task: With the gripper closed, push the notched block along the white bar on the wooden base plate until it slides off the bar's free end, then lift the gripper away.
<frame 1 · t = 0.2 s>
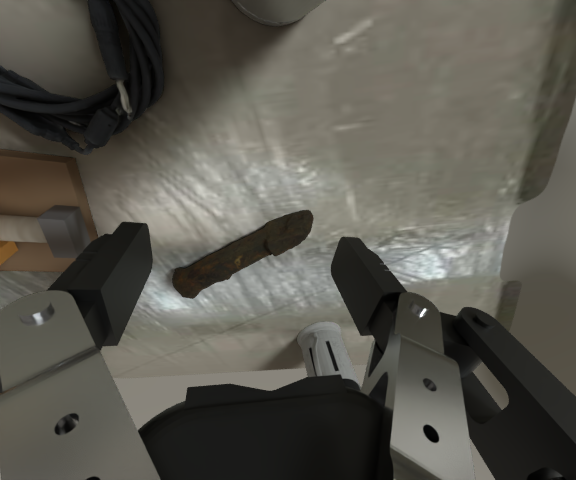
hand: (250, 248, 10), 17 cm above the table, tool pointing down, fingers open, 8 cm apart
cable: (35, 7, 17), on the table
glass holder: (314, 327, 45), on the table
dark brown tapered rod: (241, 239, 31), on the table
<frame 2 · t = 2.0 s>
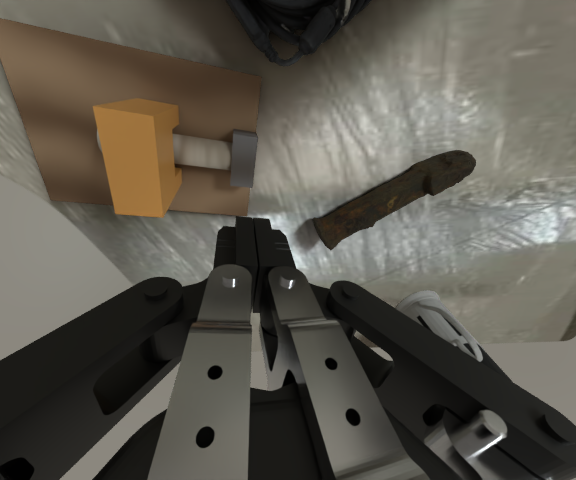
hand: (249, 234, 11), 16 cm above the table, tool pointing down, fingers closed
notched block: (149, 154, 18), point 5 cm above the table, slide at 0.0 cm
glass holder: (414, 298, 43), on the table
wooden base plate: (155, 138, 22), on the table
dark brown tapered rod: (379, 186, 30), on the table
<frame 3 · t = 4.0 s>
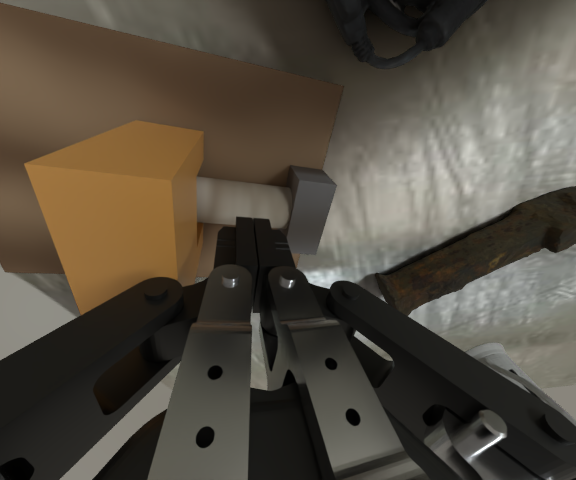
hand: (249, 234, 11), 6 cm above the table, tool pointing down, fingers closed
notched block: (156, 221, 10), point 5 cm above the table, slide at 0.2 cm, touching gripper
glass holder: (474, 350, 35), on the table
wooden base plate: (166, 178, 15), on the table
dark brown tapered rod: (466, 231, 22), on the table
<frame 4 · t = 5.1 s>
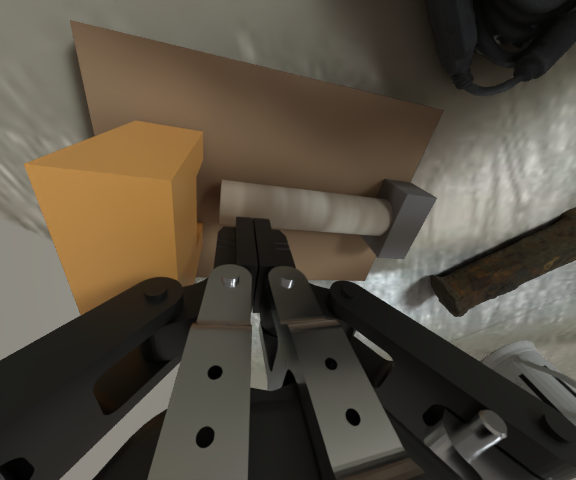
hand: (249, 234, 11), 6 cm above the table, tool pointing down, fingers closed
notched block: (156, 222, 10), point 5 cm above the table, slide at 6.5 cm, touching gripper
glass holder: (506, 348, 37), on the table
wooden base plate: (269, 190, 16), on the table
dark brown tapered rod: (515, 236, 24), on the table
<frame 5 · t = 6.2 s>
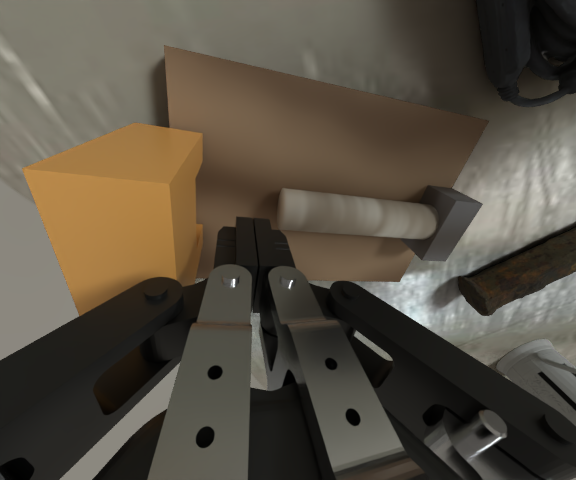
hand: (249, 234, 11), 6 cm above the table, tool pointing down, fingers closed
notched block: (156, 224, 10), point 5 cm above the table, slide at 9.9 cm, touching gripper
glass holder: (524, 346, 38), on the table
wooden base plate: (316, 196, 17), on the table
dark brown tapered rod: (541, 237, 24), on the table
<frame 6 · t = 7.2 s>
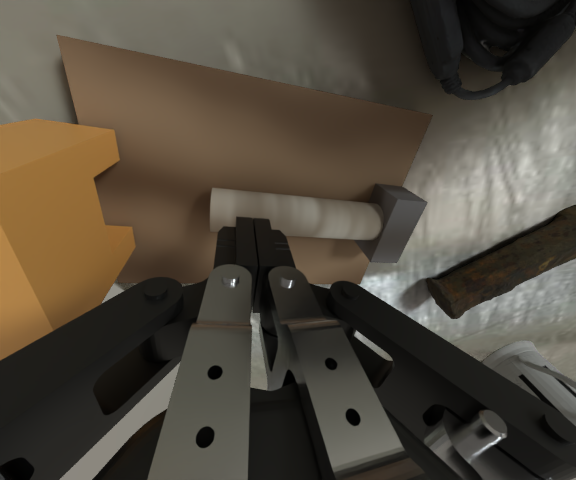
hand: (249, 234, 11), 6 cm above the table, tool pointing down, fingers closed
notched block: (50, 227, 10), point 5 cm above the table, slide at 9.9 cm
glass holder: (506, 348, 37), on the table
wooden base plate: (261, 195, 16), on the table
dark brown tapered rod: (511, 236, 24), on the table
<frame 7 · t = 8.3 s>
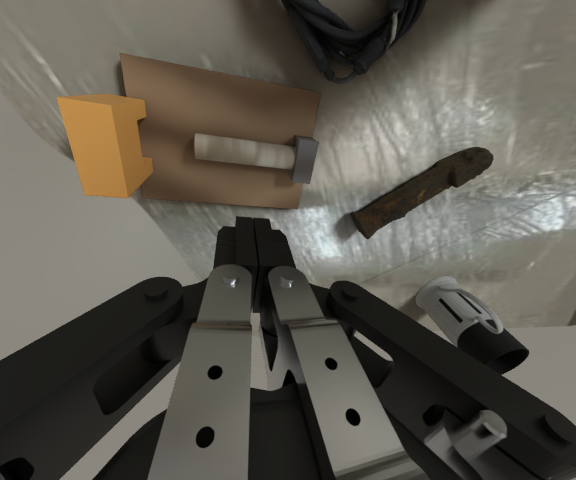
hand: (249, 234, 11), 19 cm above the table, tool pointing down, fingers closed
notched block: (116, 143, 20), point 5 cm above the table, slide at 9.9 cm
glass holder: (434, 283, 47), on the table
wooden base plate: (227, 144, 27), on the table
dark brown tapered rod: (407, 182, 34), on the table
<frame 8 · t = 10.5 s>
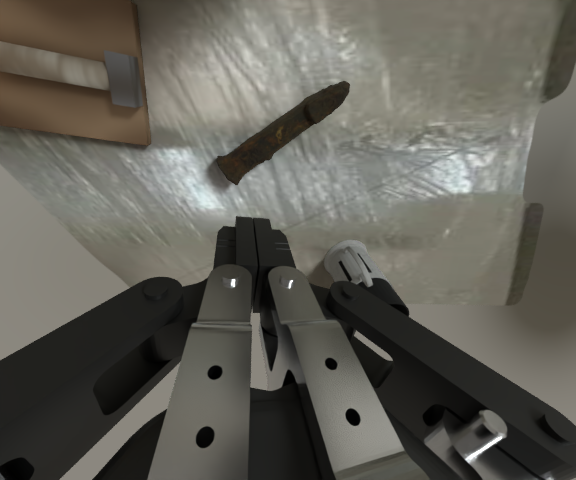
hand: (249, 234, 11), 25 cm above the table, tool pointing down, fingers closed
glass holder: (341, 248, 46), on the table
wooden base plate: (48, 63, 25), on the table
dark brown tapered rod: (278, 124, 32), on the table
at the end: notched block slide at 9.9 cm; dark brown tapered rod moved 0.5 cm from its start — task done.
